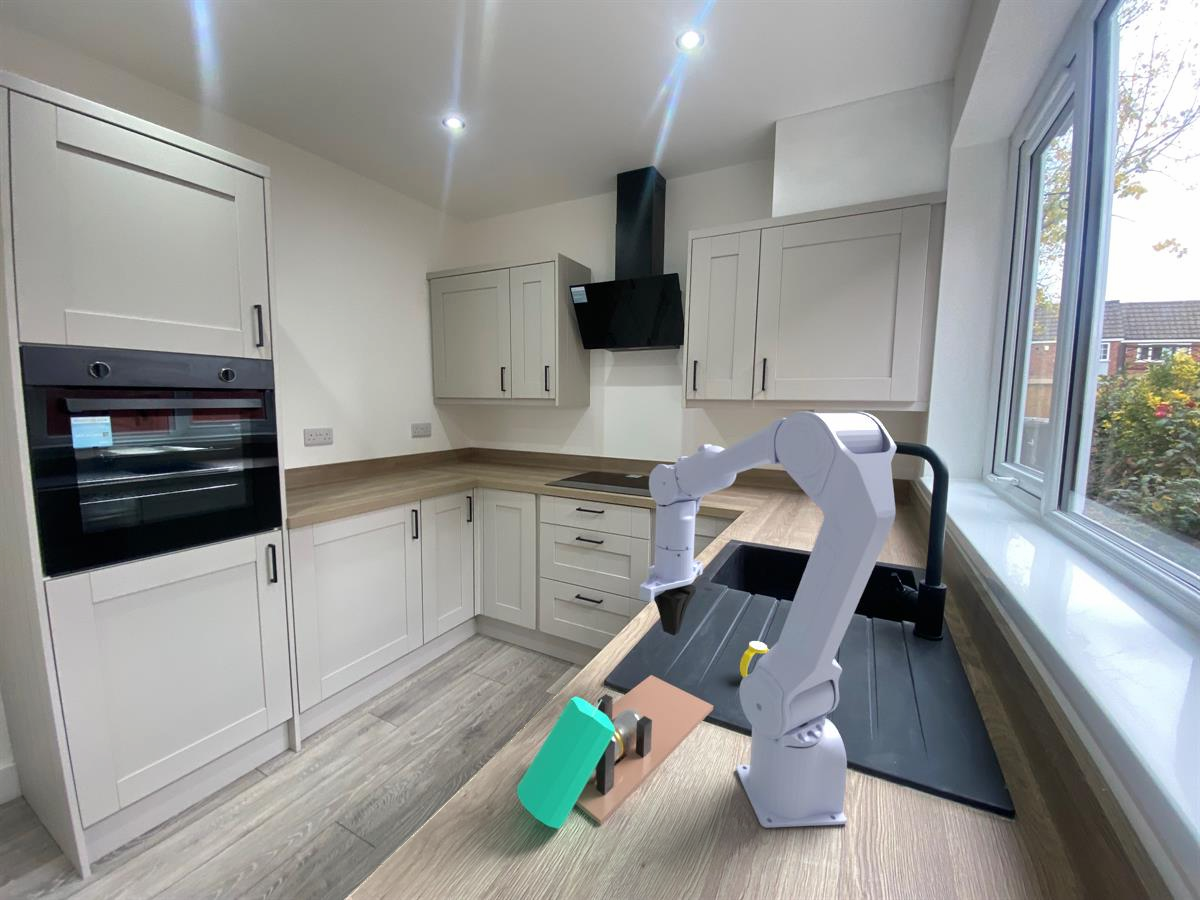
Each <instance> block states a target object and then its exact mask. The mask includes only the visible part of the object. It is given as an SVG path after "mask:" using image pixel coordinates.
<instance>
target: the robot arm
mask: <svg viewBox="0 0 1200 900" xmlns="http://www.w3.org/2000/svg"><path fill="white" fill-rule="evenodd" d="M897 448H898V447H897V444H896V443H895V442H894V440H893V438H892V437H891V435H890V434H889V432H888V430H887V429H886V428H885V426H884V425H883V423H882V422H881V421H880V420H879V419H878V418H877V417H876V416H874V415H872V414H871V413H868V412H863V411H851V412H813V411H812V412H811V411H808V410H807V411H806V410H805V411H797V412H794V413H793V414H792V413H791V414H790V415H788V416H787V417H784V418H780V419H775V420H773V421H772V422H771V423H770V424H769V425H767V426H766V427H763V428H762V429H760V430H758V431H756V432H754V433H753V434H751V435H749V436H747V437H745V438H743V439H742V440H740V441H738V442H736V443H734V444H732V445H730V446H729V447H726V448H724V447H722V446H720V445H712V444H710V443H709V444H708V443H707V444H701V445H699V446H698V447H697V452H695V453H693V454H691V455H689V456H681V457H678V458H677V461H676V462H675V463H674V464H664V463H660V464H659V463H658V464H657V465H656V466H655V467H654V468H653V469H652V470H651V471H650V474H649V479H648V489H649V493H650V495H651V498H652V500H653V501H654V502H655V503H656V506H655V507H656V508H655V509H656V510H655V533H654V534H655V536H654V537H655V538H654V565H651V566H649V567H648V573H649V574H650V575H648V577H647V578H646V580H645V581H644V582H643V583H642V584H640V585H638V588H639V589H638V599H639V600H642V601H644V602H648V603H652V602H655V604H656V607H657V610H658V614H659V617H660V622H661V627H662V628H661V629H662V631H663V632H664V633H667V634H669V635H672V636H675V635H677V634H678V633H680V630H681V626H682V624H683V621H684V617H685V613H686V611H687V609H688V606H689V604H690V602H691V599H693V597H694V595H695V593H697V591H696V586H695V585H693V584H692V583H694V581H695V578H696V577H697V576H701V575H703V572H704V571H703V568H704V567H703V566H704V563H703V562H702V561H698V560H695V559H694V556H695V555H694V553H695V531H696V530H695V529H696V515H697V514H698V513H699V511H700V503H701V501H702V499H703V498H704V496H707V495H709V494H712V493H714V492H718V491H721V490H723V489H726V488H729V487H730V486H732V485H733V484H734V482H735V481H736V478H737V474H739V473H742V472H745V471H748V470H752V469H754V468H758V467H761V466H763V465H768V464H770V463H771V464H774V465H779V464H780V465H781V466H782V468H783V469H784V470H785V472H787V474H788V475H789V476H790V477H791V478H792V480H794V482H795V483H796V484H797V485H798V486H799V488H800V489H802V490H803V492H804V493H805V494H806V495H807V496H808V497H809V499H810V500H811V501H812V502H813V503H814V504H815V505H816V506H817V507H819V508H820V510H821V512H822V513H823V521H822V524H821V526H820V529H819V532H818V534H817V537H816V539H815V542H814V545H813V548H812V550H811V553H810V556H809V559H807V560H808V561H807V564H806V567H805V569H804V571H803V574H802V577H801V580H800V582H799V585H798V586H797V587H798V588H797V590H796V592H795V595H794V598H793V601H792V603H791V606H790V609H789V611H788V614H787V617H786V618H785V622H784V625H783V627H782V630H781V632H780V635H779V638H778V641H776V643H775V644H774V645H773V646H772V647H771V648H770V649H769V651H768V652H767V653H763V655H762V656H761V657H760V658H759V659H758V660H757V662H756V664H755V666H754V668H753V670H752V672H751V673H749V674H748V675H747V676H745V677H742V680H741V681H740V684H739V692H738V693H739V700H740V705H741V708H742V710H743V713H744V715H745V717H746V719H747V721H748V722H749V724H750V725H751V726H752V727H751V742H750V743H751V744H750V756H749V757H750V759H749V764H738V765H737V766H735V767H736V768H735V769H736V773H737V775H738V778H739V780H740V782H741V783H742V786H743V788H744V791H745V793H746V796H747V797H748V800H749V802H750V804H751V806H752V809H753V810H754V813H755V815H756V817H757V820H758V822H759V823H760V826H762V827H763V828H787V827H788V828H790V827H806V826H807V827H809V826H810V827H811V826H827V825H828V826H833V825H836V826H837V825H846V824H847V823H848V822H847V821H848V818H847V817H846V815H845V813H844V802H845V801H844V800H845V792H846V782H847V780H846V779H847V769H848V766H847V765H848V762H847V761H848V759H847V752H846V748H845V744H844V741H843V739H842V737H841V734H840V733H839V730H838V729H837V727H836V725H835V724H834V723H833V722H832V721H831V720H830V719H828V718H827V717H826V714H830V713H832V712H834V711H835V710H836V708H837V707H838V704H839V702H840V692H839V691H840V690H839V682H840V681H839V680H840V676H841V674H842V672H843V668H842V667H841V665H840V664H839V663H838V662H837V660H836V659H835V657H836V655H837V653H838V651H839V648H840V647H841V644H842V642H843V641H842V640H843V639H844V637H845V634H846V632H847V630H848V628H849V625H850V623H851V620H852V618H853V616H854V614H855V612H856V609H857V607H858V604H859V603H860V599H861V597H862V595H863V593H864V591H865V588H866V586H867V584H868V581H869V579H870V577H871V575H872V572H873V570H874V568H875V565H876V564H877V560H878V559H879V557H880V554H881V552H882V549H883V547H884V545H885V544H886V540H887V538H888V536H889V534H890V532H891V529H892V527H893V524H894V522H895V518H896V514H897V513H896V502H895V492H894V483H893V474H892V473H893V471H892V461H893V458H894V455H895V454H896V451H897Z"/></svg>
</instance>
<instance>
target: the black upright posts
mask: <svg viewBox="0 0 1200 900" xmlns="http://www.w3.org/2000/svg"><path fill="white" fill-rule="evenodd" d="M601 699H602V701H601V703H600V705H599V706H598V708H597V709H598V710H599V711H601V712H602V713H604V714H606V715H607V716H608V718H609V719H610V721H612V708H613V703H614V701H613V700H614V697H612V696H610V695H609V694H607V693H605V694H604V695H602V696H601V697H599V698H598V700H597V705H598V704H599V702H600V700H601ZM559 717H560V716H559ZM559 717H558V718H559ZM558 718H557V719H558ZM651 735H652V720H651V719H649V718H647V717H646V716H643V717H642V718H641V719H640V720H639V721H637V729H636V754H638V755H639V756H641V757H643V758H644V757H645V756H646V755H647V754H648V753H649V752H650V751H651ZM614 760H615V742H614V741H613V740H611V741H610V742H609V744H608V746H607V748H606V749H605V751H604V753H603V755H602V757H601V758H600V760H599V762H598V764H597V790H598V791H599V792H600V793H602V794H603V795H604V796H605V795H606V794H607V793H608V792H609V791H610V790H611V789H612V788H613V787H614V767H615V762H614Z"/></svg>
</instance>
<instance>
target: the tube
mask: <svg viewBox="0 0 1200 900" xmlns="http://www.w3.org/2000/svg"><path fill="white" fill-rule="evenodd" d="M641 718H642V717H641V715H640V714H639V713H638V712H637V711H635V710H633V709H626V710H624V711H622V712H621V713H620V714H619V715H618V716H617V717H615V718H614V719H613V720H612V721H611V723H612V724H613V726H614V729H615V733H614V735H613V737H612V739H611V740H613V741H614V742H615V760H614V763H616V761H618V760H619V759H620V758H621V757H623V756H622V755H623V754H624V752H625V751H626V750H627V749H628V748H629V747H630V746H631V745H632V744H633V743H634V742H635V741H636V729H637V721H639V720H640V719H641ZM596 780H597V765H596V767H595V769H594V771H593V773H592V774H591V776H590V778H589V780H588V781H587V782H593V781H596Z"/></svg>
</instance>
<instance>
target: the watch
mask: <svg viewBox="0 0 1200 900" xmlns="http://www.w3.org/2000/svg"><path fill="white" fill-rule="evenodd" d="M769 650H770V649H769V648H768V645H767V644H765V643H764V642H762V641H758V640H751V641H749V643H748V649H747V650H745V651H744V652H743V654H742V656H741V658H740V664H739V671H740V675H741V676H742V678H744V677H745V676H747V675H749V674H748V668H749V663H750V662H751V660H752V658H753V657H754V655H756V654H763V655H764V654H765V653H767V652H768V651H769Z"/></svg>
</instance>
